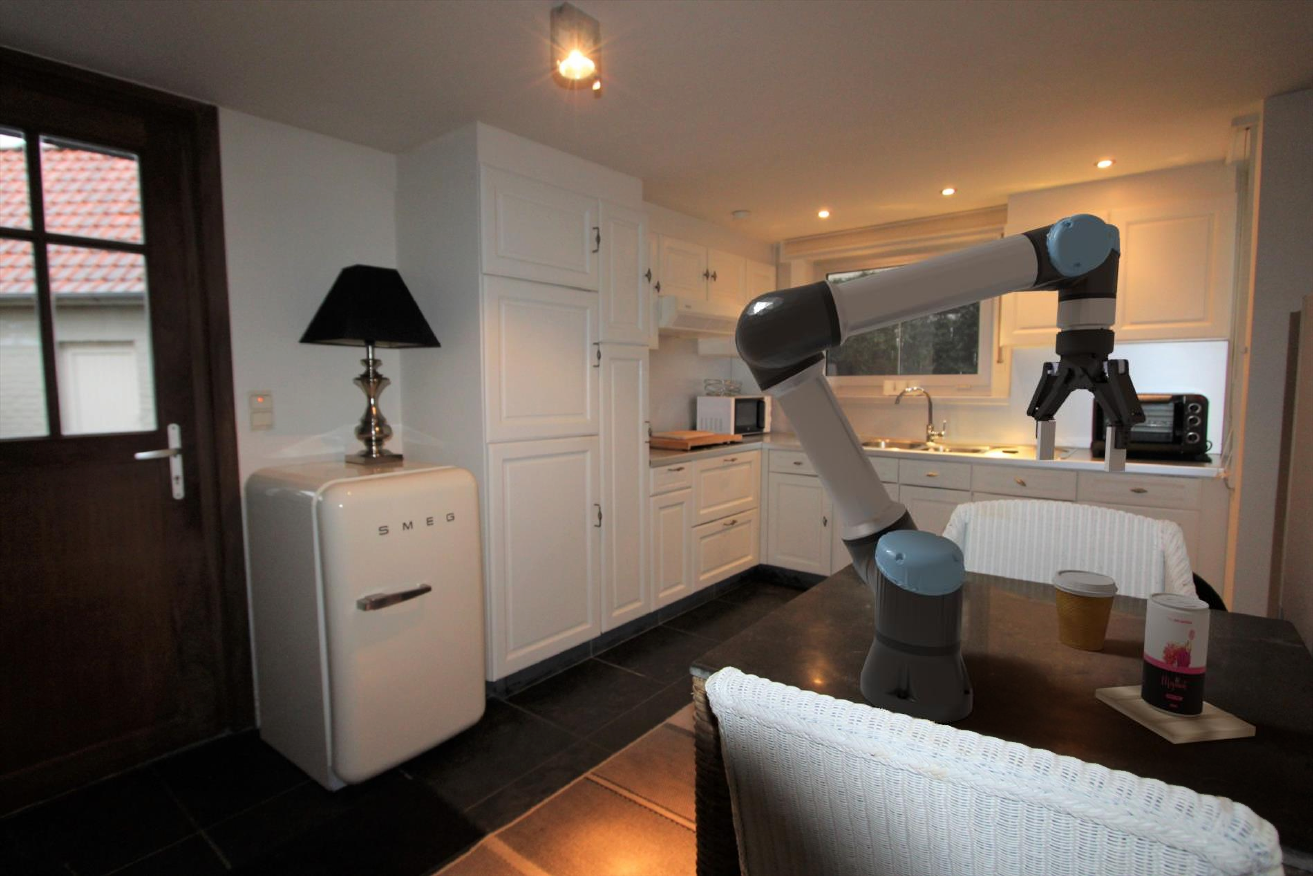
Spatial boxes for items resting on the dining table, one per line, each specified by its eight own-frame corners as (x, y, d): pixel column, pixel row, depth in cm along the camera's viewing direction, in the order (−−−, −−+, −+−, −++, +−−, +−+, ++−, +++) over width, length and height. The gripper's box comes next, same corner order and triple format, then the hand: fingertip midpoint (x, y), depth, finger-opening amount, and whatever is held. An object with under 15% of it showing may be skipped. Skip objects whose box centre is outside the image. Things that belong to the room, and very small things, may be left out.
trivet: (1174, 743, 79) (1174, 734, 79) (1095, 696, 91) (1095, 688, 91) (1254, 735, 81) (1255, 726, 81) (1167, 690, 93) (1167, 682, 93)
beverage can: (1184, 723, 82) (1193, 612, 80) (1130, 700, 88) (1137, 596, 86) (1212, 712, 84) (1221, 604, 83) (1157, 690, 90) (1165, 589, 89)
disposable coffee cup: (1125, 657, 104) (1130, 587, 103) (1062, 652, 106) (1066, 583, 105) (1097, 634, 113) (1101, 570, 112) (1039, 630, 115) (1043, 567, 114)
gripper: (1184, 321, 85) (1173, 476, 87) (1046, 335, 110) (1039, 455, 111) (1135, 321, 84) (1126, 477, 86) (1007, 335, 109) (1001, 456, 110)
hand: (1077, 465), depth 99 cm, fingers open, 13 cm apart
